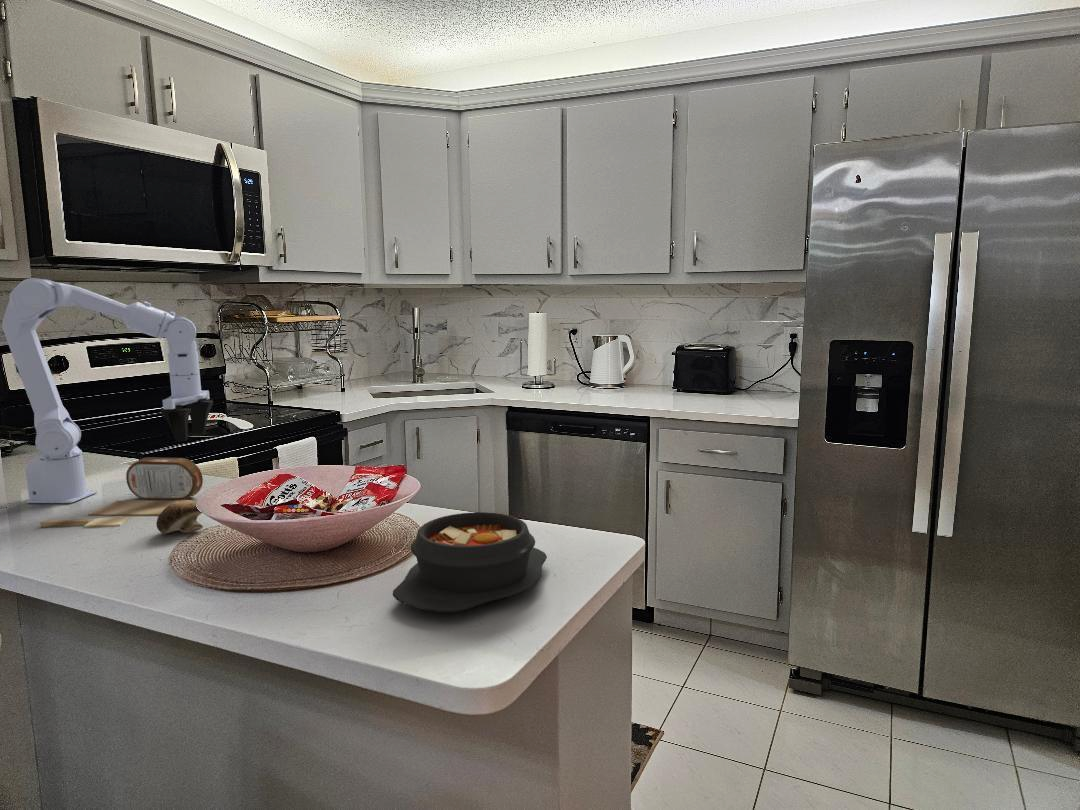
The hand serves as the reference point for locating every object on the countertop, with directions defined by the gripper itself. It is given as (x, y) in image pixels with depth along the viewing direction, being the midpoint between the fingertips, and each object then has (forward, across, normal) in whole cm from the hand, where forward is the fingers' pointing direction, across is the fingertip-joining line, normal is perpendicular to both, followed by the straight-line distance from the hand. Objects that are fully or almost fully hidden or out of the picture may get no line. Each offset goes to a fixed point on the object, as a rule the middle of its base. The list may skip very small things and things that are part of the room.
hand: (190, 437), depth 152 cm
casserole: (+11, -52, -69) cm, 88 cm away
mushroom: (+11, -31, -15) cm, 36 cm away
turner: (+10, -27, +5) cm, 29 cm away
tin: (+11, -11, 0) cm, 15 cm away
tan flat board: (+10, -18, 0) cm, 21 cm away
